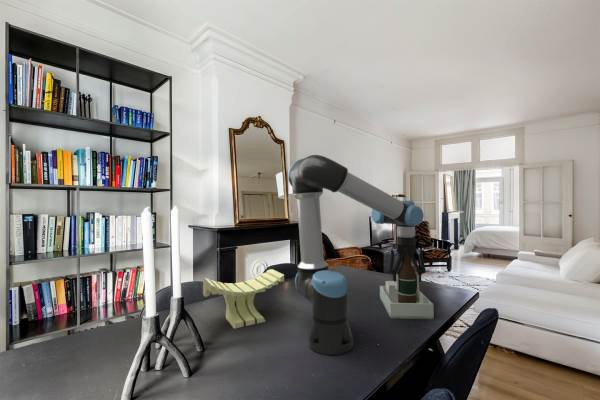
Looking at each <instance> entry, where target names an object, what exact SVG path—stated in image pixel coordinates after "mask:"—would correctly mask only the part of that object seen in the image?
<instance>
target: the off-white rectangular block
mask: <svg viewBox="0 0 600 400" xmlns="http://www.w3.org/2000/svg"><path fill="white" fill-rule="evenodd" d="M385 286H386V294H387V296H388V297H389V299H390V301H391V302H392V303H398V290H397V289H396V288H395V282H394V281H393V280H385Z"/></svg>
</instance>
